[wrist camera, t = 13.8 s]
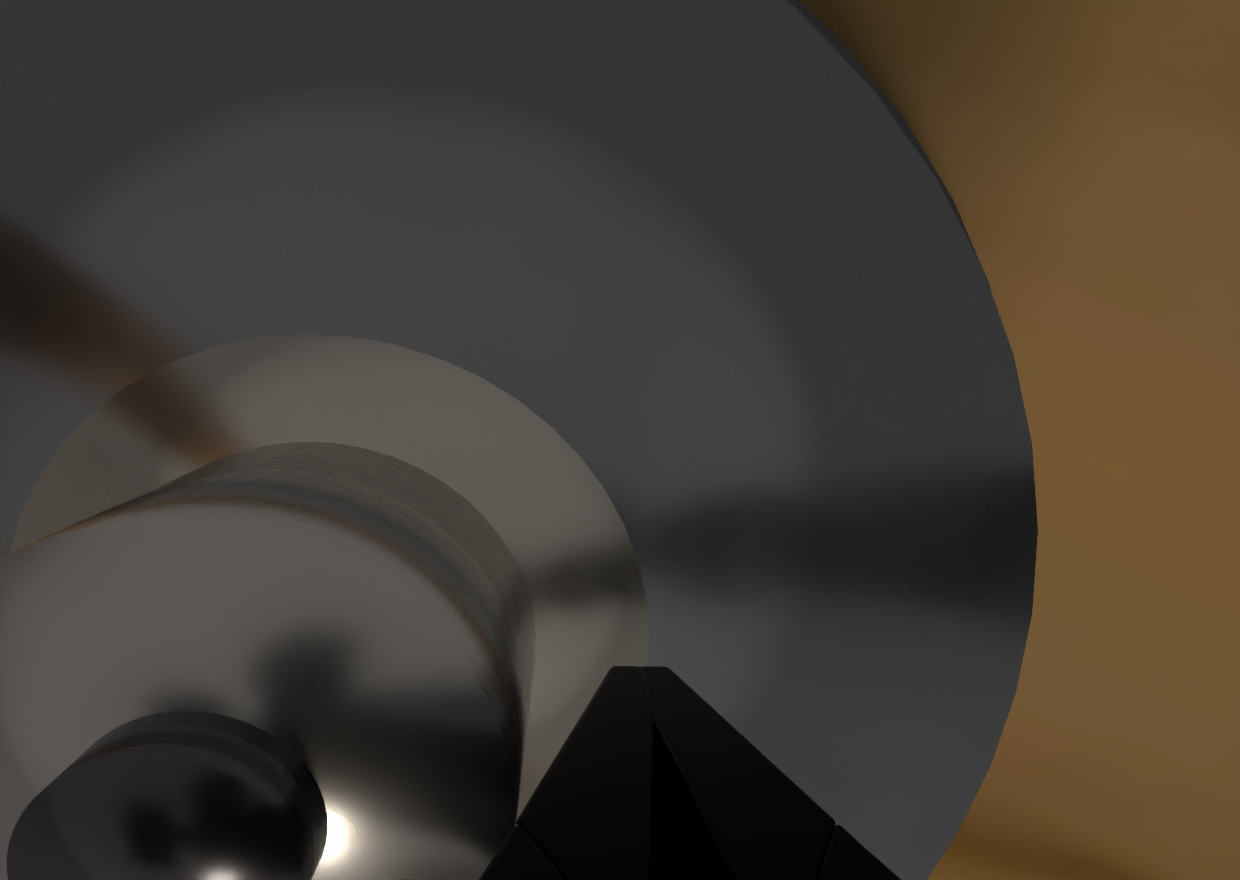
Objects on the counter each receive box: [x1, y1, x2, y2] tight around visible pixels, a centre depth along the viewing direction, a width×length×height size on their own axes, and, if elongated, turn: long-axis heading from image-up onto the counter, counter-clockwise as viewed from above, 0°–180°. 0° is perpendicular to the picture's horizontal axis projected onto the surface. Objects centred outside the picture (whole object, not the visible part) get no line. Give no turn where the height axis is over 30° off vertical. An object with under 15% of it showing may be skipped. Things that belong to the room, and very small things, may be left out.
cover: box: [0, 442, 536, 880], centre depth 7 cm, size 6×6×4 cm
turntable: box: [0, 0, 1038, 880], centre depth 8 cm, size 21×21×5 cm
